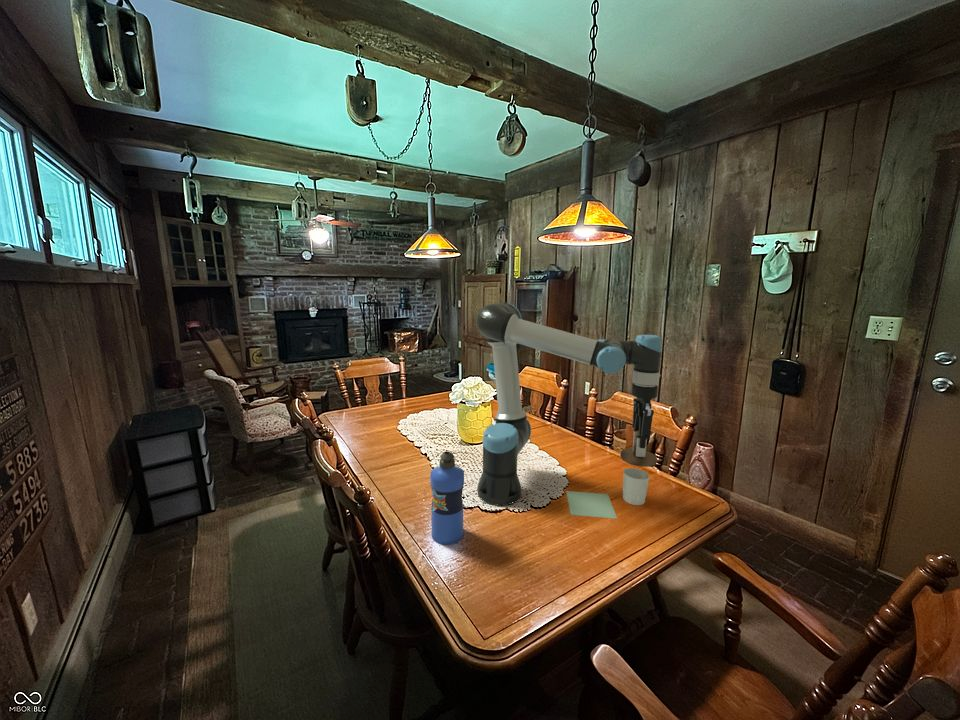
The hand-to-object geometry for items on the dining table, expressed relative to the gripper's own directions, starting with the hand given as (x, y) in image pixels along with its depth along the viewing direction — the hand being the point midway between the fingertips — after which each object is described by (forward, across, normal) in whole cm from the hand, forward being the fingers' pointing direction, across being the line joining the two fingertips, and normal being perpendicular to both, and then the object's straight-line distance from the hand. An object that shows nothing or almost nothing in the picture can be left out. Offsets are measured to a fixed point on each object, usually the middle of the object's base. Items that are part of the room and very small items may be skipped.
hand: (638, 453), depth 122 cm
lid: (+2, 0, 0) cm, 2 cm away
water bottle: (+17, -26, +58) cm, 66 cm away
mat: (+17, -5, +15) cm, 23 cm away
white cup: (+17, 0, 0) cm, 17 cm away
